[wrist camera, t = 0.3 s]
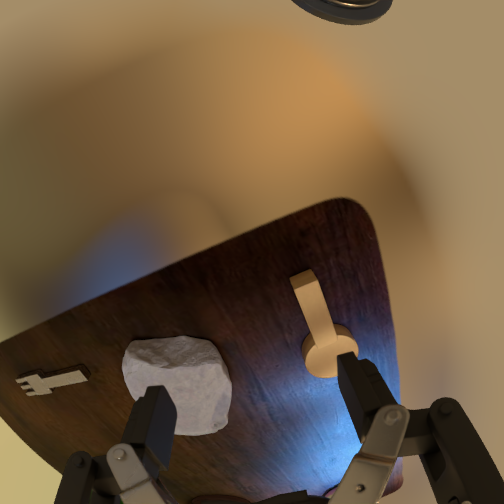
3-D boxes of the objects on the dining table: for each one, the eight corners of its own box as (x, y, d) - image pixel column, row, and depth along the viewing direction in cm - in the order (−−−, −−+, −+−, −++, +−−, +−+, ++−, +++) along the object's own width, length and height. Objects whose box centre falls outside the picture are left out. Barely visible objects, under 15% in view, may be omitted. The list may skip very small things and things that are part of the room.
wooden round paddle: (271, 284, 25) (274, 297, 23) (328, 261, 24) (336, 271, 22) (310, 372, 28) (314, 388, 26) (356, 353, 28) (364, 367, 25)
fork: (79, 358, 27) (75, 364, 26) (95, 379, 28) (91, 385, 27) (18, 374, 28) (14, 379, 27) (32, 391, 29) (28, 396, 28)
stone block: (220, 323, 28) (120, 336, 26) (229, 354, 23) (113, 368, 21) (230, 403, 32) (149, 413, 30) (239, 433, 27) (149, 444, 25)
